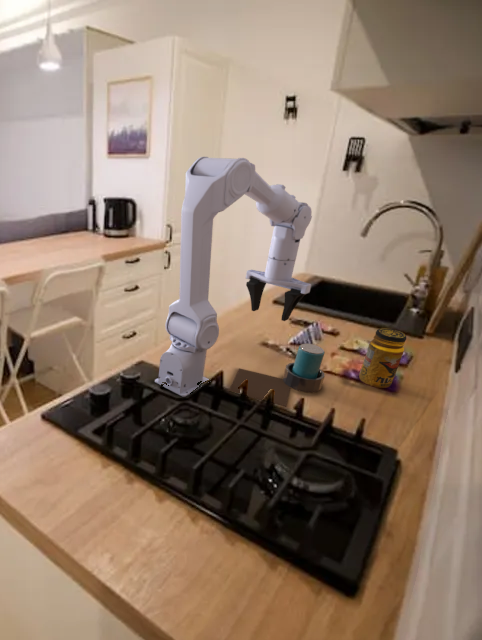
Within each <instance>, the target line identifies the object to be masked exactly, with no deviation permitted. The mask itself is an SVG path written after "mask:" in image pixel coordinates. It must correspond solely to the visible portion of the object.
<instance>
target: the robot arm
mask: <svg viewBox="0 0 482 640" xmlns="http://www.w3.org/2000/svg"><path fill="white" fill-rule="evenodd" d="M184 186H185V187H184V188H185V190H184V197H183V198H184V199H183V201H182V205H181V212H180V213H181V215H180V253H179V254H180V255H179V256H180V258H179V292H178V293H179V294H178V295H179V298H178V299H176V300H174V301H173V302H172V303H170V304H169V306H168V314H167V317H166V320H165V326H164V327H165V331H166V332H167V334H168V335H169V341H170V342H171V344H170V346H169V348H168V349H167V350H166V351H164V352H163V353H162V354H161V356H160V357H159V367H158V378H155V379H154V383H156V384H158V385H159V386H161V384H164V383H162V382H166V383H167V385H166V384H164V385H163V386H162V387H164V388H165V389H167V390H169V391H170V392H172V393H174V394H176V395H178V396H180V397H182V398H185V397H188V396H190V395H191V394H192V393H191V392H192V391H193V390H195V389H196V388H197V387H199V385H200V384H201V383H203V382H205V381H207V380H209V379H210V378H208V377H205V376H204V373H205V365H206V359H207V351H208V350H209V349H211V348H212V347H213V346H214V345H215V343H216V342H217V341H218V338H219V335H220V326H219V324H218V320H217V319H218V313H217V311H216V310H215V308H214V307H213V305H212V304H211V303H210V301H209V293H210V292H209V291H210V277H211V261H212V243H213V227H214V226H213V225H214V218H215V217H216V216H217V215H218V214H219V213H222V212H224V211H225V210H227V209H228V208H229V207H230V206H231V205H233V204H234V203H236V202H237V201H238V200H239V199H241V198H242V197H243V196H244V195H245V196H247V197H248V198H250V199H251V200H254V201H255V207H256V210H257V211H258V212H259V213H261V214H262V215H264V216H265V217H266V218H268V219H269V224H270V226H271V227H273V230H272V234H271V240H270V245H269V250H268V255H267V260H266V265H265V270H264V271H262V270H256V269H248V270H246V274H245V279H246V280H248V281H247V282H246V284H245V285H246V288H247V290H248V294H249V298H250V306H251V307H250V308H251V309H250V310H251V311H252V312H256V311H258V310H259V309H260V306H261V301H262V297H263V293H264V290H265V288H266V285H267V284H268V285H272V286H275V287H281V288H283V289H288V290H287V291H285V292H284V303H283V304H284V305H283V310H282V314H281V319H280V320H281V321H282V322H286V321H287V320H289V319H290V317H291V315H292V312H293V311H294V310H295V308H296V306H298V304H299V302H300V301H301V300H302V299H303V298H304V296H305V295H307V294H310V292H311V288H312V283H309V282H305V281H303V280H299V279H297V278H295V277H293V273H294V268H295V265H296V260H297V256H298V251H299V247H300V243H301V239H303V238H304V236H305V234H306V230H307V228H308V227H309V225H310V224H311V221H312V218H313V215H312V208H311V206H310V205H309V204H308V203H307V202H303V201H302V202H301V201H299V200H297V199H296V196H295V195H294V194H290V193H289V192H288V191H287V190H286V186H285V185H284V184H279V183H277V184H272V185H269V184H268V183H267V181H266V180H265V179H264V178H263V177H262V176H261V175H260V174H258V172H257V171H256V165H255V164H254V163H252V162H251V161H249V160H248V159H247V158H245V157H238V158H227V157H209V156H200V157H198V158H197V159H195V160H194V162H193V163H192V164H191V165H190V166H189V168H188V169H187V170H186V172H185V185H184ZM200 381H202V382H201V383H200V384H199V385H197V383H198V382H200ZM168 385H169V386H168ZM196 390H197V389H196ZM196 390H195V391H196ZM190 393H191V394H190Z"/></svg>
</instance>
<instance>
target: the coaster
mask: <svg viewBox="0 0 482 640" xmlns="http://www.w3.org/2000/svg"><path fill="white" fill-rule="evenodd" d="M246 379H247V380H248V391H247V394H248V396H249V397H248V398H251V399H255V400H259V401H262V399H263V398H264V396H265V395H266V394H267V393H268V391H269V390H270V389H274V391H275V395H274V405H278V406H281V407H286V408H287V406H288V402H289V401H288V400H289V396H290V391H291V388H290V387H289V386H288V385H286V384H285V383H284V381H283V378H281V377H277V376H273V375H268V374H266V373H265V374H264V373H259V372H256V371H252V370H249V369H244V368H238V369H237V372H236V374H235V376H234V378H233V380H232V382H231V385H230V387H229V389H228V392H229V391H233V392H236V393H240V389H238V387H239V386H240V385H241V383H242V382H243V381H244V380H246ZM236 393H235V394H236Z"/></svg>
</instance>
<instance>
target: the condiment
mask: <svg viewBox="0 0 482 640" xmlns="http://www.w3.org/2000/svg"><path fill="white" fill-rule="evenodd" d="M406 341H407V335H406V333H404V332H402V331H399V330H397V329H393V328H388V327H387V328H385V327H381V328H378V329H376V331H375V334H374V336H373V339H372V340H371V341H369V345H368V347H367V350H366V353H365V356H364V358H363V362H362V365H361V368H360V371H359V374H358V376H359V377H358V378H359V380H360V381H361V382H362V383H364V384H366V385H367V386H370V387H375V388H377V389H379V388H380V389H387V388H390V387H391V385H392V384H393V381H394V379H395V376H396V373H397V371H398V368H399V365H400V363H401V360H402V358H403V356H404V352H405V348H404V346H405V344H406Z"/></svg>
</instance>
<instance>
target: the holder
mask: <svg viewBox="0 0 482 640" xmlns="http://www.w3.org/2000/svg"><path fill="white" fill-rule="evenodd" d="M293 366H294V362H290V363H288V364H286V365H285V369H284V371H283V377H282V379H283V381H284V383H285V384H286V385H288V386H289V387H290V389H293V390H295V391H298V392H302V393H317V392H320V390H321V389H322V386H323V383H324V380H325V377H326V376H325V372H324V371H323V370H322V369H321V368H320V369H319V372H318V375H317V378H316V379H308V378H303V377H300V376H297V375H295V374H293V373H292V369H293Z"/></svg>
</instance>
